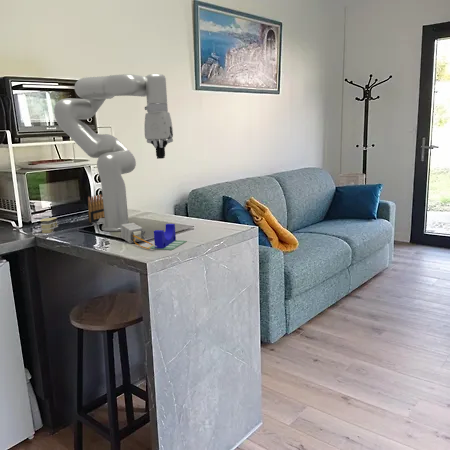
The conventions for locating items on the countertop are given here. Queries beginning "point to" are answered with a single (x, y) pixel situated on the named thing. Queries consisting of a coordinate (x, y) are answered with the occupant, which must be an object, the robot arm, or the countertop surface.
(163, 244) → the cable clip
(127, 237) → the electrical component
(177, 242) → the header pad
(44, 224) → the stacked layers on plate
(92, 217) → the ammunition clip
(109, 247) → the countertop surface
